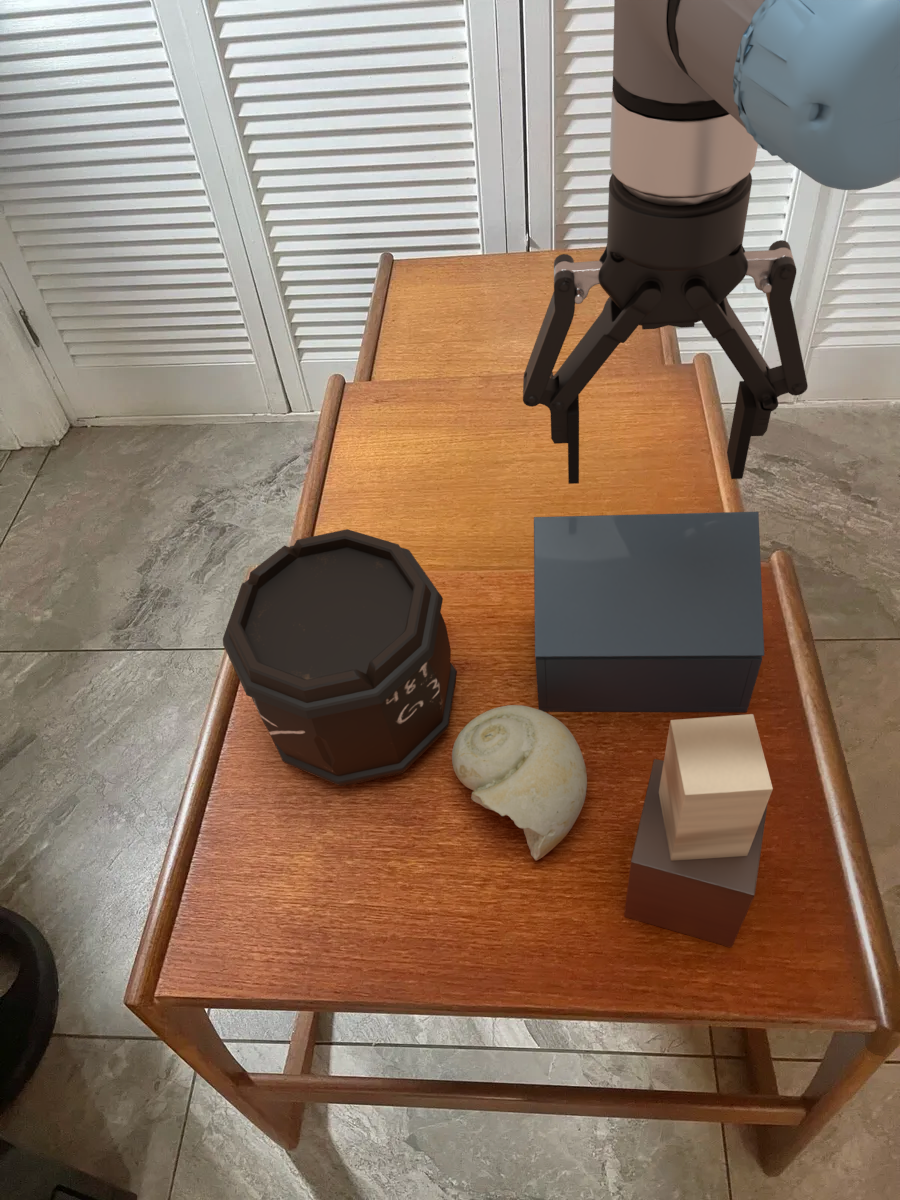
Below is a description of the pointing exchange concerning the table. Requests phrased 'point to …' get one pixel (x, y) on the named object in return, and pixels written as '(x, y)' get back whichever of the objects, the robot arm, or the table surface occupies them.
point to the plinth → (688, 880)
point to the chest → (646, 684)
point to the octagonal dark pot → (344, 655)
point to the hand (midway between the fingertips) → (653, 468)
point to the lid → (648, 585)
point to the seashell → (524, 771)
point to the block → (713, 786)
